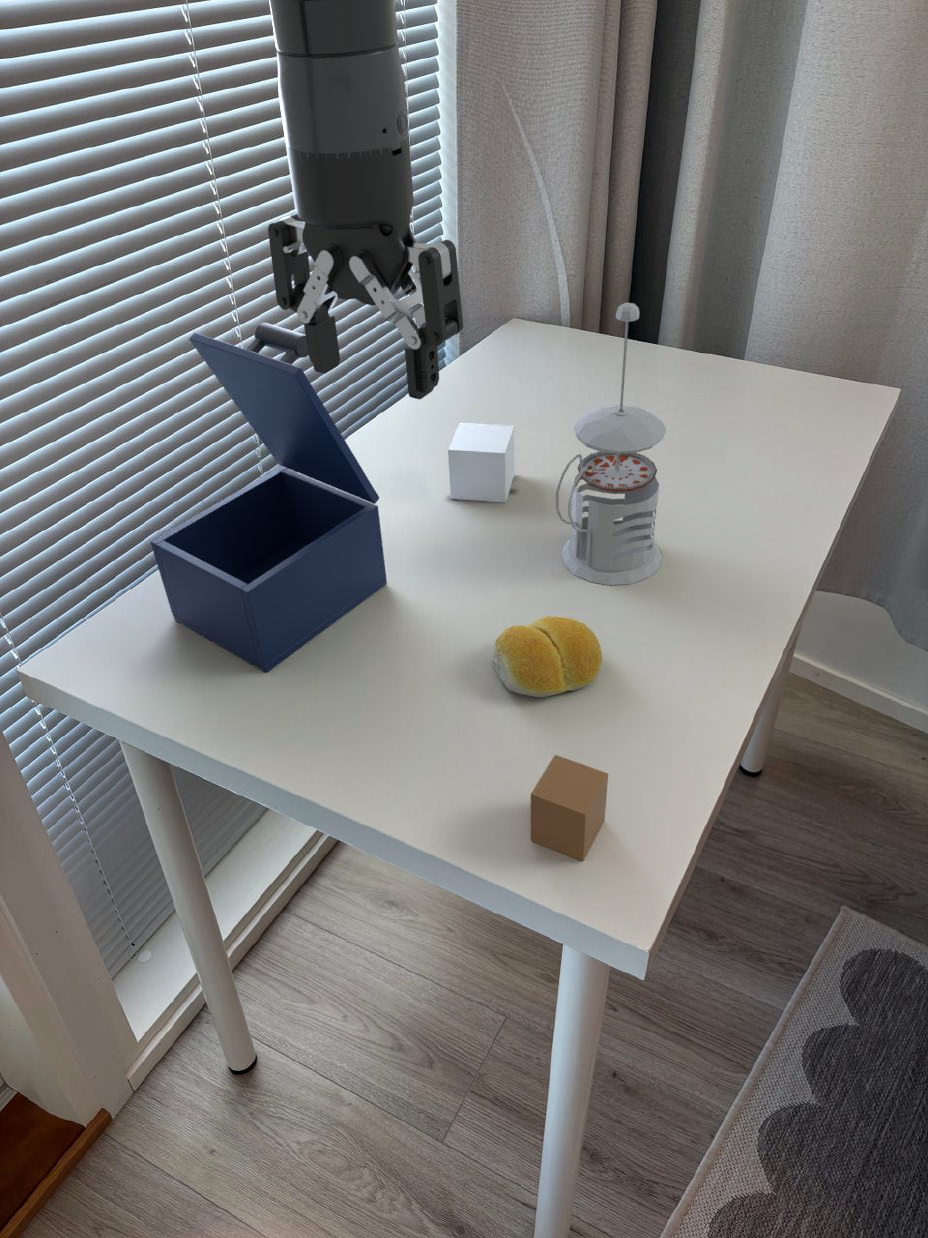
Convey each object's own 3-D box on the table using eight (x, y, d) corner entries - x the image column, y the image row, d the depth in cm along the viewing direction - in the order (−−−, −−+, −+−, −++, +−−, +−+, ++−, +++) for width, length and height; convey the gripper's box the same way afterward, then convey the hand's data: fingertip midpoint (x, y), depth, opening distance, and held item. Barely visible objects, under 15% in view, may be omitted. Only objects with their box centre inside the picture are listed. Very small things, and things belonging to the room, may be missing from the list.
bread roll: (616, 683, 79) (619, 646, 76) (516, 712, 77) (516, 675, 74) (574, 624, 85) (576, 589, 82) (481, 649, 83) (479, 614, 80)
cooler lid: (295, 374, 71) (333, 328, 73) (188, 338, 78) (225, 296, 79) (375, 504, 85) (406, 463, 86) (278, 464, 91) (309, 426, 93)
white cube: (450, 499, 102) (447, 449, 98) (462, 470, 107) (459, 422, 103) (506, 502, 101) (504, 452, 97) (515, 474, 106) (514, 425, 102)
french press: (683, 557, 92) (716, 304, 76) (596, 606, 87) (611, 344, 71) (612, 515, 98) (628, 273, 82) (526, 558, 93) (526, 308, 77)
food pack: (583, 862, 65) (585, 815, 62) (530, 840, 67) (530, 794, 64) (604, 820, 68) (608, 773, 65) (553, 801, 69) (554, 754, 66)
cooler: (266, 673, 82) (247, 592, 76) (173, 619, 88) (149, 541, 82) (387, 583, 91) (378, 505, 85) (295, 541, 97) (281, 465, 92)
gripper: (218, 135, 58) (264, 381, 69) (404, 159, 52) (424, 426, 62) (299, 110, 63) (330, 343, 73) (478, 129, 57) (486, 382, 67)
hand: (373, 381), depth 68 cm, fingers open, 8 cm apart
